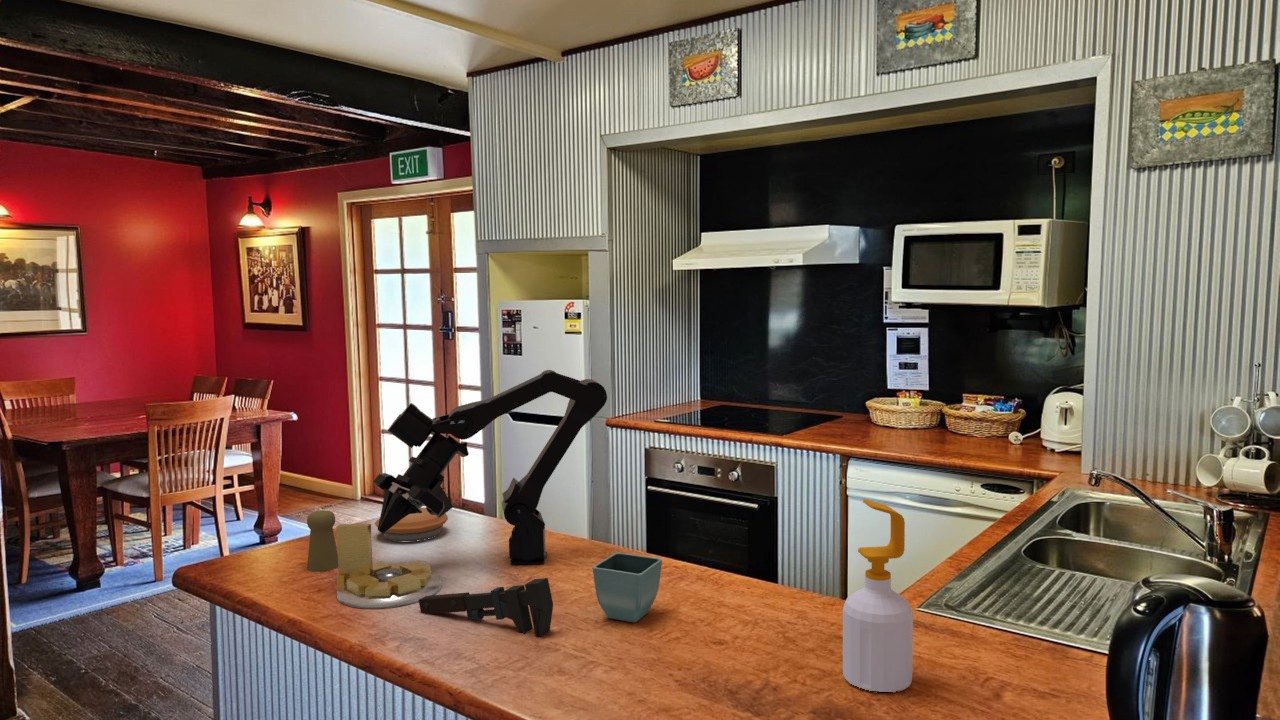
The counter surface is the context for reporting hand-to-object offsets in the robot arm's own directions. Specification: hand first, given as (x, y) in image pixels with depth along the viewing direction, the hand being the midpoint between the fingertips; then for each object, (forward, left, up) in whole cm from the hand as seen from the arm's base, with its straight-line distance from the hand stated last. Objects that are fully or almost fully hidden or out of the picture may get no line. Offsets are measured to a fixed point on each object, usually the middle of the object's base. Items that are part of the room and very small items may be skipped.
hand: (380, 531), depth 159 cm
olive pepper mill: (+14, -10, -10) cm, 20 cm away
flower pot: (-46, +18, -10) cm, 50 cm away
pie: (+2, -31, -10) cm, 33 cm away
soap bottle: (-80, +42, -10) cm, 91 cm away
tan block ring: (-2, +4, -8) cm, 9 cm away
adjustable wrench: (-22, +20, -10) cm, 31 cm away
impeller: (-3, +4, -10) cm, 11 cm away
